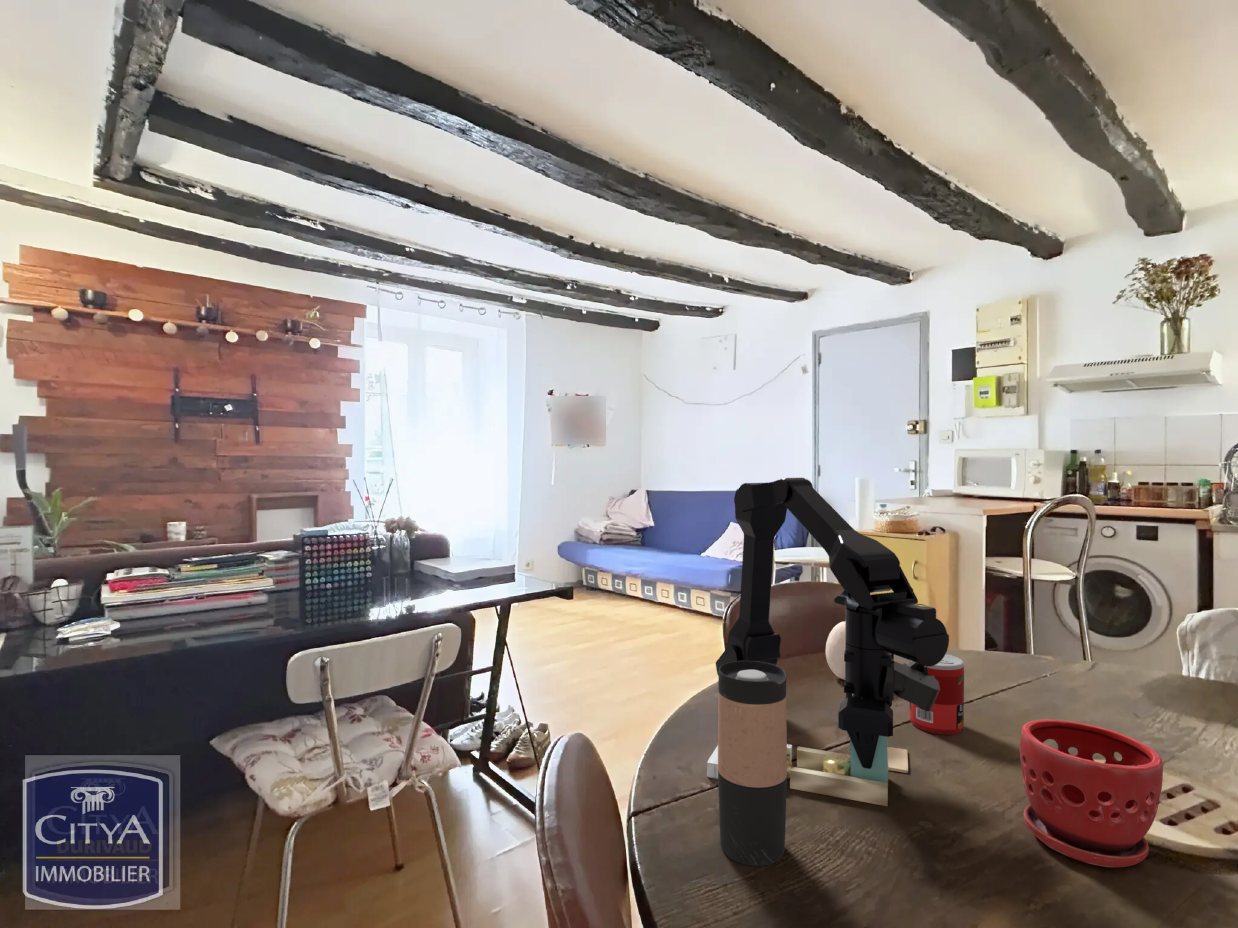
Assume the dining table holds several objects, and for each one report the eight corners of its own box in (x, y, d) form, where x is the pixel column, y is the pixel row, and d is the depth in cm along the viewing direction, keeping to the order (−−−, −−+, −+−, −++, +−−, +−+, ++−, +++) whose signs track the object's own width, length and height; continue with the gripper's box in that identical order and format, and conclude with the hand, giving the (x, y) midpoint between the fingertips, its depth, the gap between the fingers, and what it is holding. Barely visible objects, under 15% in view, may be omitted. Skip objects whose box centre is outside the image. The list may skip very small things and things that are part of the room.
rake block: (850, 786, 87) (849, 718, 87) (852, 773, 91) (851, 707, 91) (887, 793, 86) (887, 723, 85) (887, 778, 89) (887, 712, 89)
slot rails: (790, 788, 88) (790, 770, 88) (798, 762, 95) (798, 746, 95) (887, 806, 84) (887, 787, 84) (888, 778, 91) (888, 760, 91)
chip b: (821, 786, 89) (821, 764, 89) (824, 774, 92) (824, 752, 92) (850, 791, 87) (850, 768, 87) (852, 779, 91) (852, 757, 91)
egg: (838, 670, 136) (838, 614, 136) (875, 679, 131) (875, 621, 130) (817, 679, 131) (817, 621, 131) (855, 689, 125) (855, 629, 125)
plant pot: (1114, 894, 67) (1115, 775, 67) (994, 827, 79) (994, 726, 79) (1189, 862, 72) (1190, 752, 72) (1065, 804, 84) (1066, 709, 84)
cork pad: (854, 764, 95) (854, 761, 95) (857, 744, 101) (857, 741, 101) (908, 773, 92) (908, 770, 92) (907, 752, 99) (907, 749, 99)
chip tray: (707, 776, 91) (707, 762, 91) (724, 747, 101) (724, 733, 101) (781, 790, 88) (781, 775, 88) (792, 758, 97) (792, 744, 97)
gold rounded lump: (760, 768, 93) (758, 751, 92) (781, 756, 94) (779, 739, 93) (776, 785, 90) (774, 768, 89) (798, 772, 91) (795, 755, 90)
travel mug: (711, 829, 79) (710, 660, 78) (774, 826, 79) (774, 659, 79) (727, 869, 71) (726, 683, 71) (797, 865, 72) (797, 680, 71)
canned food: (970, 737, 104) (970, 667, 104) (915, 733, 106) (915, 664, 105) (955, 718, 111) (955, 652, 111) (904, 714, 113) (904, 650, 113)
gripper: (940, 673, 76) (939, 807, 77) (931, 631, 94) (930, 741, 94) (838, 661, 80) (837, 789, 81) (847, 624, 98) (847, 729, 98)
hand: (867, 760), depth 88 cm, fingers closed on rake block, 4 cm apart
